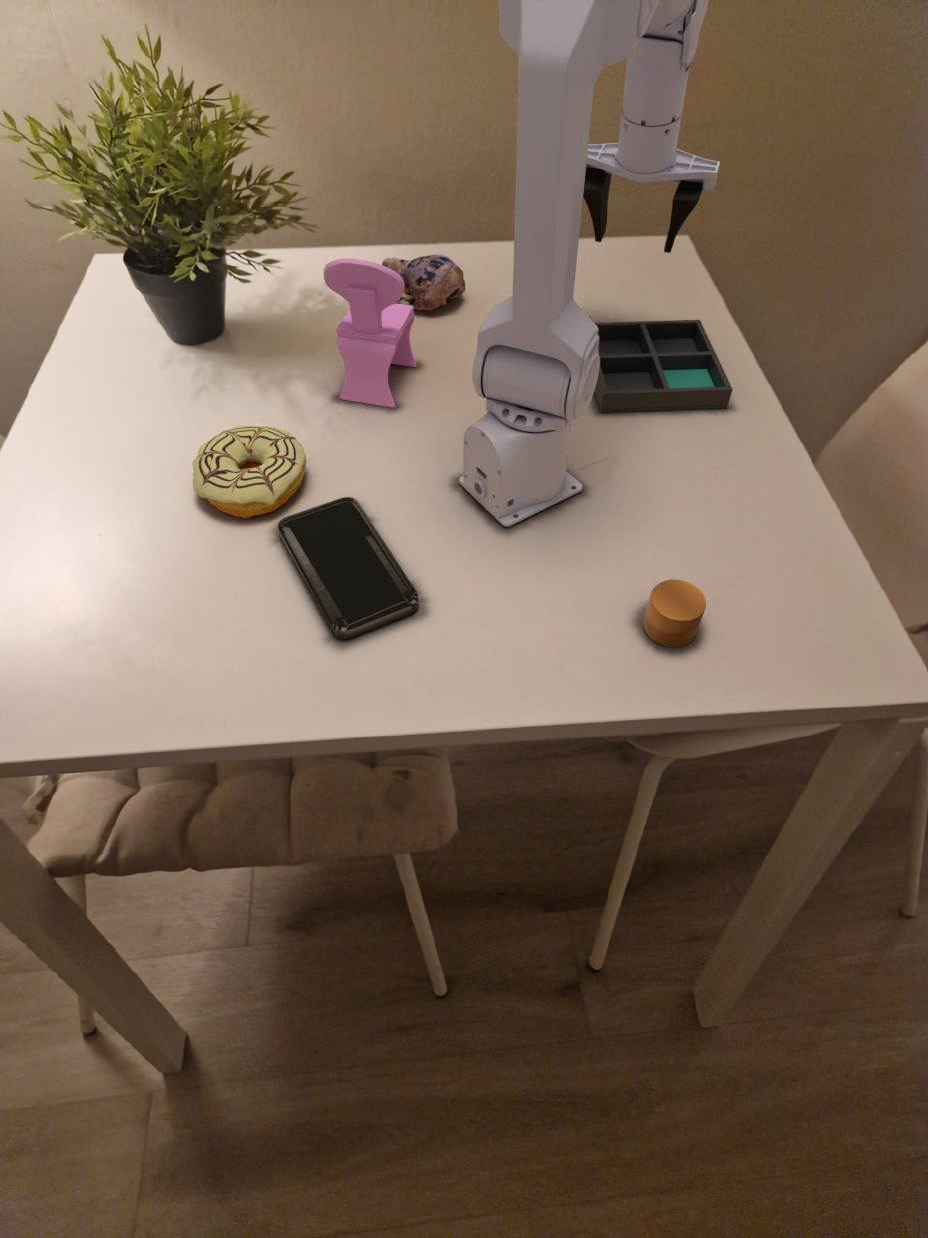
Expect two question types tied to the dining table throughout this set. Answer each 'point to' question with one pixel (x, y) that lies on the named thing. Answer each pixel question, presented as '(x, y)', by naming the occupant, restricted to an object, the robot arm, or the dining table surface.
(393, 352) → the toy chair
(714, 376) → the grid
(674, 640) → the orange cylinder
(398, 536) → the dining table surface
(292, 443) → the decorated donut
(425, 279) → the toy tortoise
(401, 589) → the phone
